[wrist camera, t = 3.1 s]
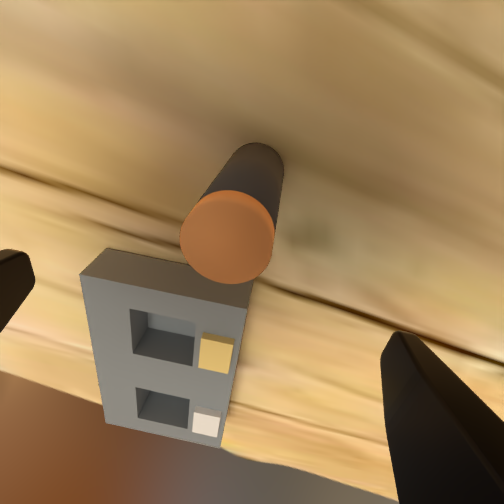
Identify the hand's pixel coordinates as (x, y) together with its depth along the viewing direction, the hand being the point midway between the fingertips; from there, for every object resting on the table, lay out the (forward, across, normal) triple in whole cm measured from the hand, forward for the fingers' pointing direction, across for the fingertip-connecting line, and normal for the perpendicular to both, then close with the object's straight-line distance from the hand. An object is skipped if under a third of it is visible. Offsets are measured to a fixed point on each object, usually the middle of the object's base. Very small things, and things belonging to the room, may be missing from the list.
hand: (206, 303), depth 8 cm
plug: (+11, 0, 0) cm, 11 cm away
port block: (+11, +4, +15) cm, 19 cm away
